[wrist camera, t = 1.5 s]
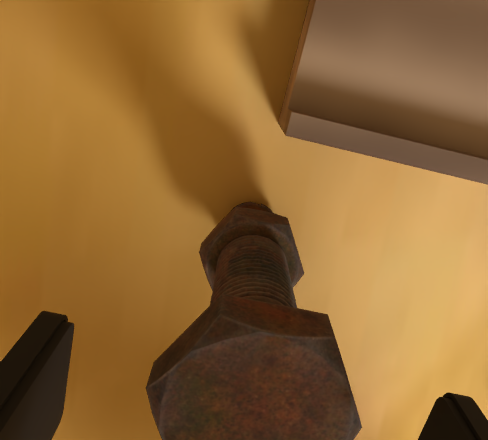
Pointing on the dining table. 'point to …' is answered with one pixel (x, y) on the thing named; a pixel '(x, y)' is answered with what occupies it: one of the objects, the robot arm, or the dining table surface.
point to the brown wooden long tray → (394, 82)
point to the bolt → (253, 347)
